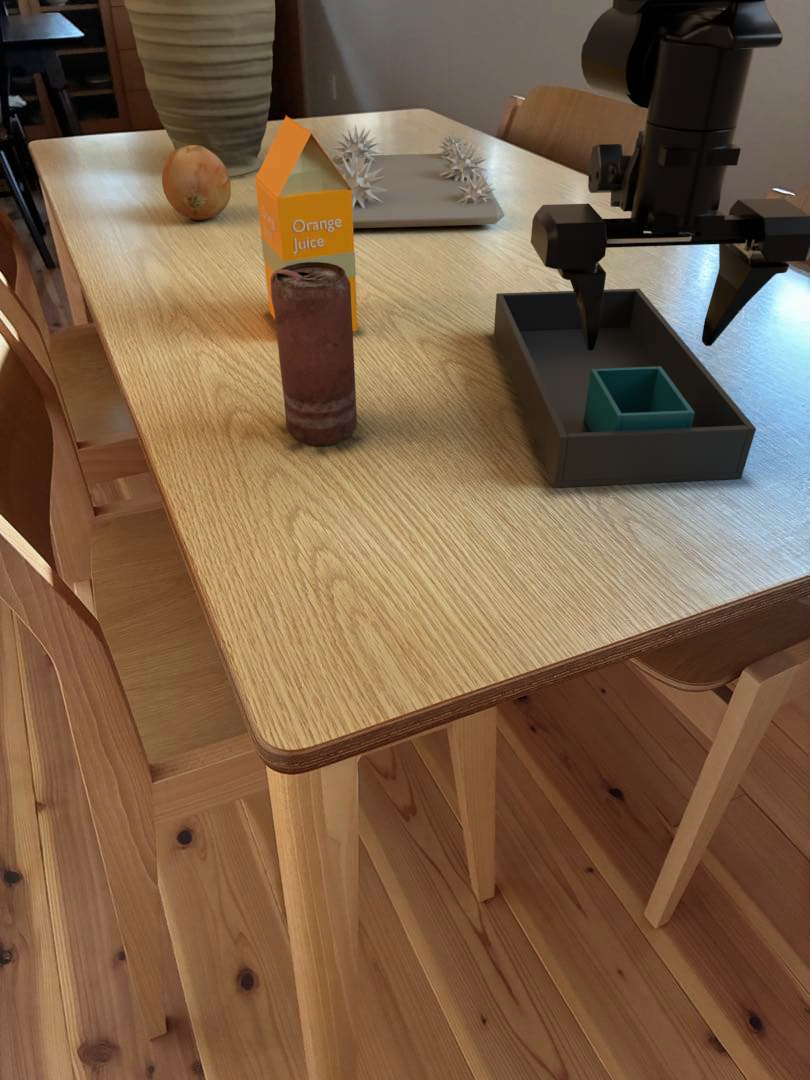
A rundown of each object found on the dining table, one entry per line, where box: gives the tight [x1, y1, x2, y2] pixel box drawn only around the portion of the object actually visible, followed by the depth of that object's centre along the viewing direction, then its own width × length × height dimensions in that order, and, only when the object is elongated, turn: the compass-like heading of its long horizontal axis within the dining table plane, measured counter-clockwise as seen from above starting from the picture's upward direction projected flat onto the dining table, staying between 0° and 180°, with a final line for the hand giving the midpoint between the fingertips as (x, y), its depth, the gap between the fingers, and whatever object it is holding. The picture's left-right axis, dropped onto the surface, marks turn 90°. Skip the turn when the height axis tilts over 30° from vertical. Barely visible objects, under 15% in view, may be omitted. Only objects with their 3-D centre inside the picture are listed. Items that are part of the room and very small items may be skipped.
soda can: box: [270, 262, 358, 447], centre depth 66 cm, size 6×6×14 cm
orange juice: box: [254, 114, 359, 333], centre depth 83 cm, size 8×9×20 cm
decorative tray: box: [330, 123, 505, 229], centre depth 124 cm, size 35×26×10 cm
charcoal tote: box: [493, 288, 757, 488], centre depth 74 cm, size 15×29×5 cm, turn 4°
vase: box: [123, 0, 276, 178], centre depth 134 cm, size 25×24×30 cm
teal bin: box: [584, 366, 695, 432], centre depth 66 cm, size 6×8×5 cm
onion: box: [161, 145, 232, 221], centre depth 117 cm, size 10×10×10 cm
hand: (647, 346), depth 62 cm, fingers open, 9 cm apart
